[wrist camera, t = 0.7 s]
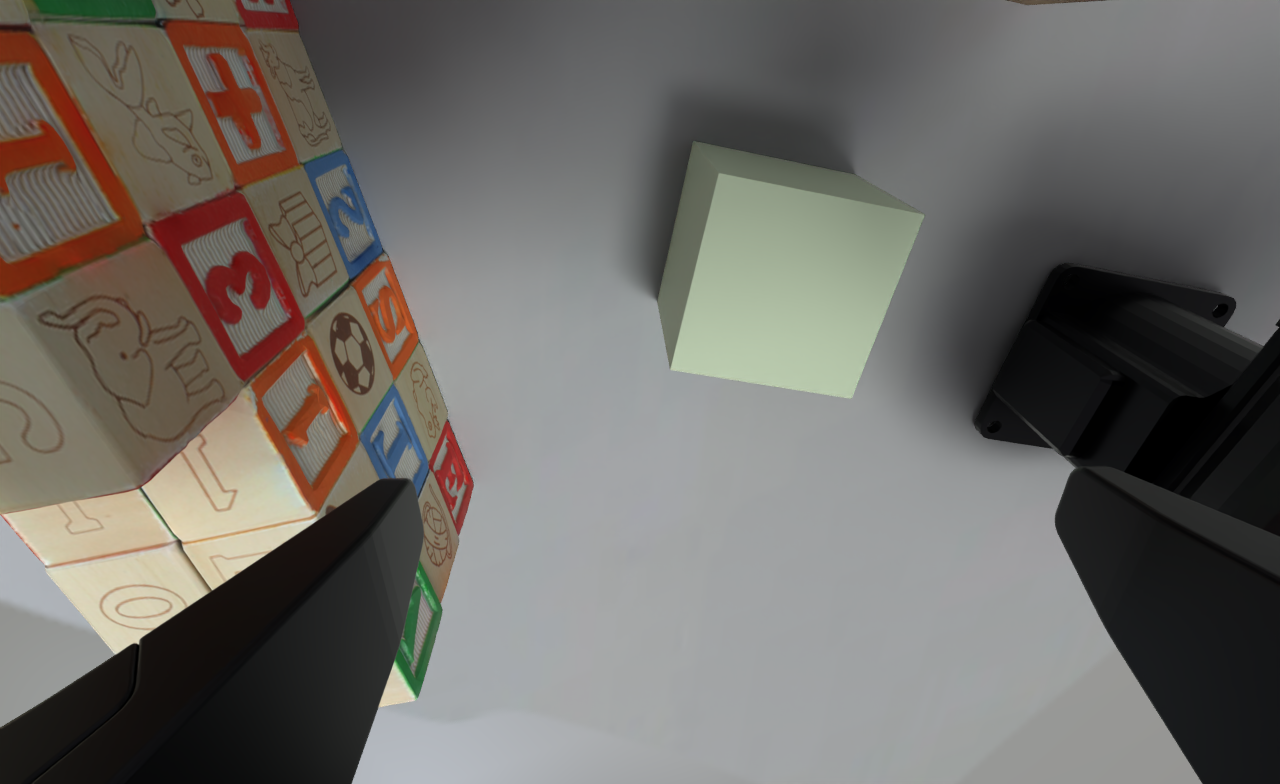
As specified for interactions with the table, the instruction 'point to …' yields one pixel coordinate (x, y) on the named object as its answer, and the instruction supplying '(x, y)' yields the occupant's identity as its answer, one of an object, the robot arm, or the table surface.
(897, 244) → the sage cube
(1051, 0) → the walnut block
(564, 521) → the table surface
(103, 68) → the stack of blocks
